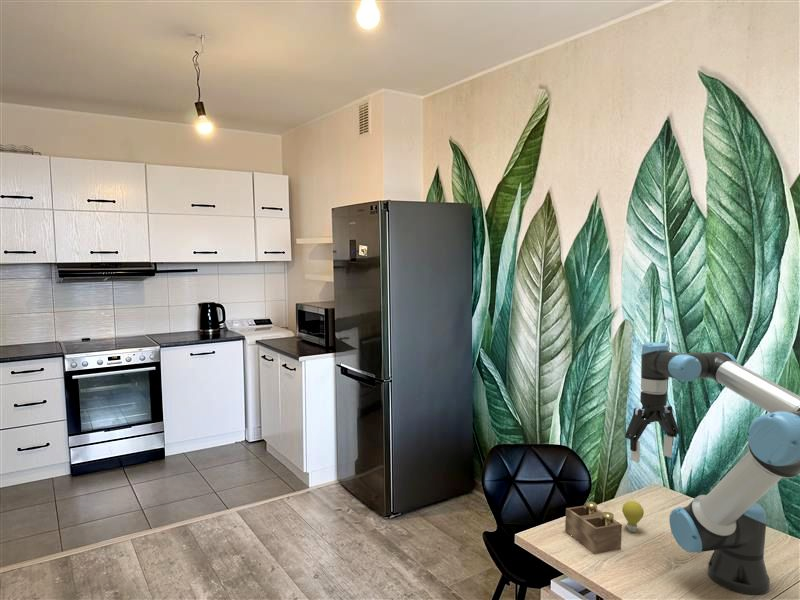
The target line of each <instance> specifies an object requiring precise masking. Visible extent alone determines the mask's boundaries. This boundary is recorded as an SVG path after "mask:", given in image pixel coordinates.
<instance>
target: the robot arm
mask: <svg viewBox="0 0 800 600" xmlns="http://www.w3.org/2000/svg"><path fill="white" fill-rule="evenodd" d="M640 357H641V363H640V364H641V365H640V367H641V370H640V390H641V391H640V397H639V398H640V403H641V408H637V407H633V413H632V417H631V420H630V422H629V423H628V424H629V425H628V427H627V430H626V431H625V434H624V438H625V439H628V440H630V441H629V442H630V444H629V450H630V451H631V452H630V461H633V462H635V463H640V458H641V456H640V455H641V453H640V452H641V441H639V439H641V436H642V435H643V433H644V431H645V430H646V428H647V427H648V425H650V424H651V423H654V422H657V423H658V424H659V425H660V428H661V429H662V430H663V431H664V433H665V434H663V452H662V453H663V454H662V455H663V456H665V457H667V458H670V459H671V458H673V446H674V440H675V439H674V438H677V436H678V435H679V433H680V430H679V427H678V425H677V422H676V419H675V416H674V413H673V406H672V405H667V403H668V401H667V400H668V397H667V396H668V394H667V392H668V378H671V379H675V380H678V381H681V382H682V381H684V382H692V381H695V380H696V379H711V380H713V381H715V382H717V383H718V384H720V385H722V386H724V387H726V389H729V390H730V391H732V392H734V393H735V394H737V395H739V396H741V397H742V398H744V399H746V400H747V401H749V402H751V403H752V404H754V405H755V406H757V407H759V408H761V409H762V410H764V411H766V412H767V413H764V414H761V415H760V416H758V417H756V418H755V419H754V420H753V421H752V422H751V423H750V426H749V428H748V432H747V433H748V434H749V436H748V437H747V442H748V443H747V448H748V450H747V451H748V452H746V454H744V455H743V457H742V458H741V459H740V460H739V461H738V462H737V463H736V464H735V465H734V466H733V467H732V468H731V469H730V470H729V471H728V472H727V473H726V474H725V476H723V477H722V479H721V480H720V481H719V482H718V483H717V484H716V485H715V486H714V487H713V488H712V489H711V490H710V491H709V492H708V493H707V494H700V495H698V496H696V497H694V498H693V500H692V501H691V502H689V504H688V505H686V506H683V507H681V506H678V507H676V508H673V509H672V510H671V512H670V514H669V518H668V521H669V527H670V531H671V534H672V536H673V538H674V540H675V542H676V544H677V545H678V546H679V547H680V548H681V549H682V550H684V551H686V552H687V553H698V554H700V553H703V552H711V551H713V552H712V555H711V557H710V559H709V561H708V563H707V575H708V576H709V578H710V579H712V581H714V582H715V583H717V584H718V585H720V586H721V587H724V588H726V589H729V590H731V591H733V592H736V593H737V592H738V593H741V594H745V595H762V594H763V595H764V594H766V593H768V591H769V590H770V583H771V582H770V577H769V575H768V572H767V567H766V564H765V560H764V555H765V542H766V530H767V529H766V528H767V513H766V510H765V509H764V507H763V506H762V505H760V504H759V503H757V502H758V501H759V500H760V499H761V498H762V497H763V496H764V495H766V493H768V492H769V491H770V490H771V489H772V488H773V487H774V486H775V485H777V483H778V482H780V481H781V480H782V479H793V478H795V477H796V476H798V475H799V473H800V395H798V394H796V393H794V392H793V391H790V390H789V389H787V388H785V387H783V386H781V385H779V384H778V383H776V382H773V381H772V380H770V379H768V378H766V377H763V376H762V375H760V374H759V373H756V372H755V371H752V370H750V368H749V369H748V368H747V367H745V366H743V365H741V364H739V363H738V361H737V359H736V358H735V357H734V355H732V353H729V352H721V351H714V352H689V353H688V352H686V353H685V352H684V353H683V352H681V353H680V352H678V353H677V352H674V351H673V352H671V351H669V345H668V344H667V343H663V342H654V341H653V342H644V343H643V344H642V348H641V355H640Z"/></svg>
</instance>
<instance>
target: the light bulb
mask: <svg viewBox="0 0 800 600" xmlns="http://www.w3.org/2000/svg"><path fill="white" fill-rule="evenodd" d="M621 508H622V509H621V512H622V514H623V516H624V519H625V520H626V521H627V524H626V528H627V530H628V531H629V532H631V533H635V532H636V531H637V529H638V523H639V522H640V521H641V520H642V518H643V517H644V514H645V512H644V507H643V506H642V505H641V503H639V502H637V501H635V500H628V501H626V502H625V503H624V504H623V506H622V507H621Z"/></svg>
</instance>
